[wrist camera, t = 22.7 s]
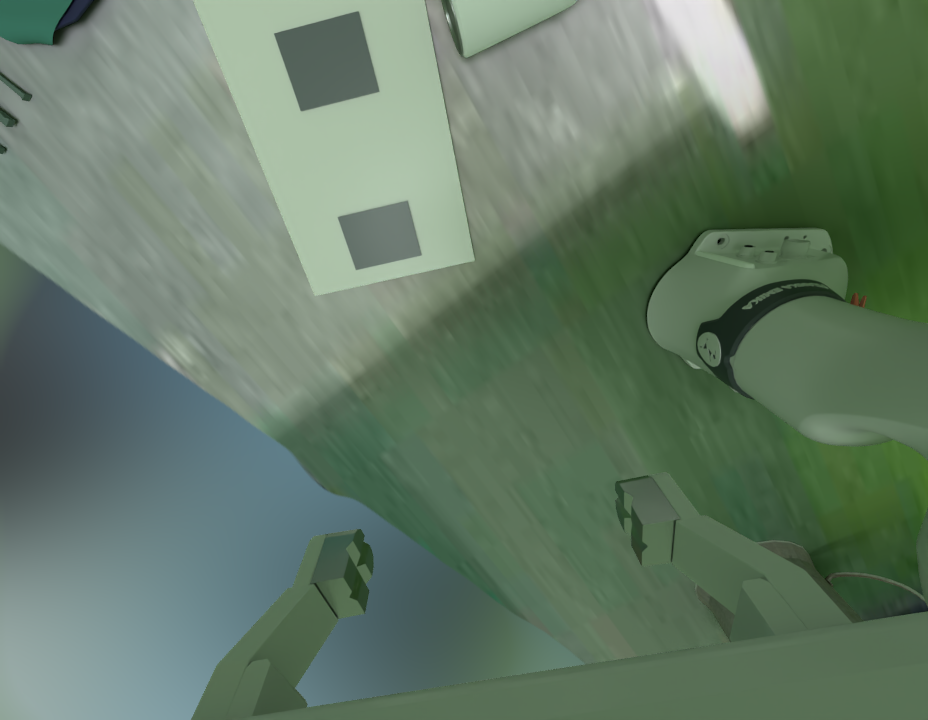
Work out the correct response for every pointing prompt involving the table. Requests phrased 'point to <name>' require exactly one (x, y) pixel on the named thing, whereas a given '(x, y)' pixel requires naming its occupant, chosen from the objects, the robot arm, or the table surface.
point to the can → (495, 20)
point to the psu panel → (347, 132)
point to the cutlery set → (35, 28)
